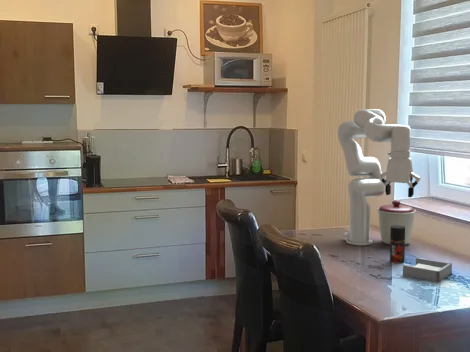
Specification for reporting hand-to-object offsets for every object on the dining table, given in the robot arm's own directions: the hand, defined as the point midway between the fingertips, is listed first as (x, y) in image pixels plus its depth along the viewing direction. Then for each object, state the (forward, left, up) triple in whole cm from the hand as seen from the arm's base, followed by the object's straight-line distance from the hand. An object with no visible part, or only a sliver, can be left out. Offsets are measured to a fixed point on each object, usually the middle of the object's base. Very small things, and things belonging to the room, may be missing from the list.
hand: (399, 195), depth 227 cm
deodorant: (0, 0, -28) cm, 29 cm away
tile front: (+19, -10, -29) cm, 36 cm away
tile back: (+14, -9, -29) cm, 33 cm away
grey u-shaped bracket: (+16, -10, -28) cm, 34 cm away
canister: (-14, +30, -28) cm, 44 cm away
